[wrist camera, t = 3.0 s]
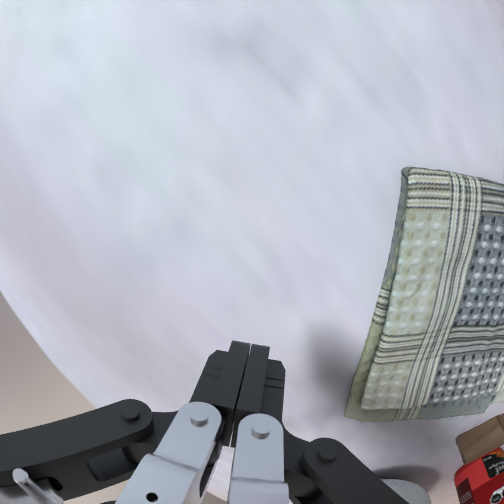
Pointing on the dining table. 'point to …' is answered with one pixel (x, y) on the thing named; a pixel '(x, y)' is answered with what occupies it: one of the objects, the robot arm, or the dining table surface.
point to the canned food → (482, 480)
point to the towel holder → (481, 439)
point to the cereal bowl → (409, 491)
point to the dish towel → (437, 305)
